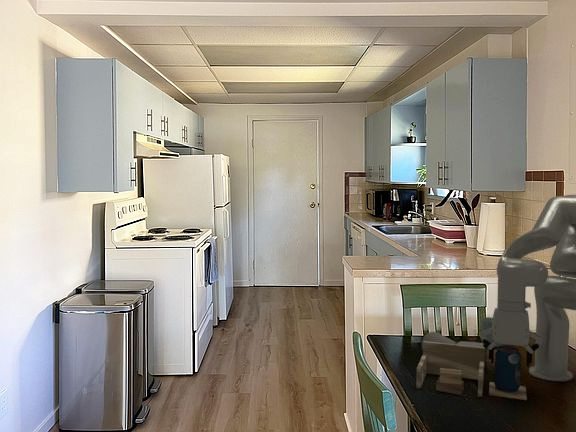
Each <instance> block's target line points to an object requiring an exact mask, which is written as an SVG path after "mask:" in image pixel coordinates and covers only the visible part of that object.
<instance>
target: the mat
mask: <svg viewBox="0 0 576 432" xmlns="http://www.w3.org/2000/svg"><path fill="white" fill-rule="evenodd" d="M488 387H489V389H488V396H493V397H500V398H507V399H516V400H524V401H528V396H527V388H526V386H525V385H520V388H519V389H518V390H517V392H515V393H506V392H502V391H499V390H498V389H497V388H496V386H495V384H494V381H489V386H488Z"/></svg>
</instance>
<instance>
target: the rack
mask: <svg viewBox="0 0 576 432" xmlns="http://www.w3.org/2000/svg"><path fill="white" fill-rule="evenodd" d="M485 347H486V346H485ZM485 347H484V346H483V347H476V346H467V345H457V344H448V343H438V342H429V341H424V342H423V349H422V355H421V358H420V360H419V363H418V365H416V366H417V367H416V380H415V381H416V383H415V385H416V387H415V388H416V389H419V390H420V389H421V388H422V385H423V382H424V381H425V378H426V375H427V374H428V375H429V374H430V375H437V376H440V368H445V369H455V370H461V372H462V379H468V380H477V384H478V385H477V397H478V398H483V391H484V380H485V379H484V377H485V350H486V349H485Z"/></svg>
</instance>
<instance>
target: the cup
mask: <svg viewBox="0 0 576 432" xmlns="http://www.w3.org/2000/svg"><path fill="white" fill-rule="evenodd" d="M480 322H481V323H480V332H482V331H484V330H487V329H489V328H492V323H493V317H489V316H488V317H486V316H485V317H482V318H481V321H480ZM485 338H486V339H487V340H488V341H489V342H491V341H492V333H491V334H488V335H486V336H485ZM482 343H483V342H482ZM483 346H485V344H484V343H483ZM500 346H502V345H501V344H496V345H495V346H494V347H493V348H494V349H495V348H498V347H500Z"/></svg>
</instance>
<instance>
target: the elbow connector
mask: <svg viewBox="0 0 576 432" xmlns="http://www.w3.org/2000/svg"><path fill="white" fill-rule="evenodd" d="M424 341H429V342H438V343H448V344H457V345H467V346H476V347H484V344H483V342H475V341H465V340H464V341H463V340H462V341H461V340H460V341H459V342H456V341H454V340H452V339H450V338H449V337H446V336H445V335H443V334H441V333H439V332H437V331H429V332H428V333H426V334H425V335H424V336H423V337H422V340H421V349H422V350H423V342H424Z"/></svg>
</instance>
